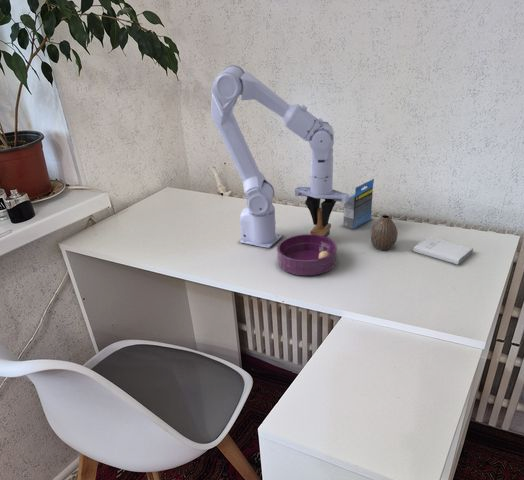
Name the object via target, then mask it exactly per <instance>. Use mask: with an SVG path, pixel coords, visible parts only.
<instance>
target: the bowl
mask: <svg viewBox="0 0 524 480" xmlns="http://www.w3.org/2000/svg"><path fill="white" fill-rule="evenodd" d="M322 251H327V252H328V253H329V255H328V256H326V257H323V258H320V259H319V258H318V256H319V254H320V253H321V252H322ZM276 252H277V253H276V258H277V259H276V260H277V266H278V267H279V268H280V269H281V270H283V271H284V272H287V273H289V274H292V275H296V276H304V277H305V276H307V277H308V276H316V275H320V274H324V273H326V272H329V271H330V270H332V269H333V268H334V267H335V266H336V264H337V262H338V261H337V259H338V258H337V257H338V245H337V243H336V242H335V240H333V239H332V238H330V237H329V236H328V237H325V236H321V235H314V234H310V233H305V234H295V235H292V236H289V237H287V238H284V239H282V240H280V242H279V243H278V244H277V246H276Z"/></svg>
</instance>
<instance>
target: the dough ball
mask: <svg viewBox="0 0 524 480" xmlns="http://www.w3.org/2000/svg"><path fill="white" fill-rule="evenodd" d="M328 255H329V253H328V252H327V251H322V252H321V253H320V254H319V256H318V258H319V259H320V258H323V257H326V256H328Z"/></svg>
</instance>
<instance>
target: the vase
mask: <svg viewBox="0 0 524 480" xmlns="http://www.w3.org/2000/svg"><path fill="white" fill-rule="evenodd" d="M398 232H399V231H398V227H397V225H396V223H395V222H394V221H393V219H392V217H391V215H389V214H382V215H381V216H380V217H379V219H378V220H377V221H376V222H375V223H374V225H373V226H372V229H371V230H370V241H371V244H372V246H373V247H374V248H375V249H376V250H378V251H389V250H390V249H392V248H393V247H394V246H395V245H396V242H397V240H398V235H399V233H398Z"/></svg>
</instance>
